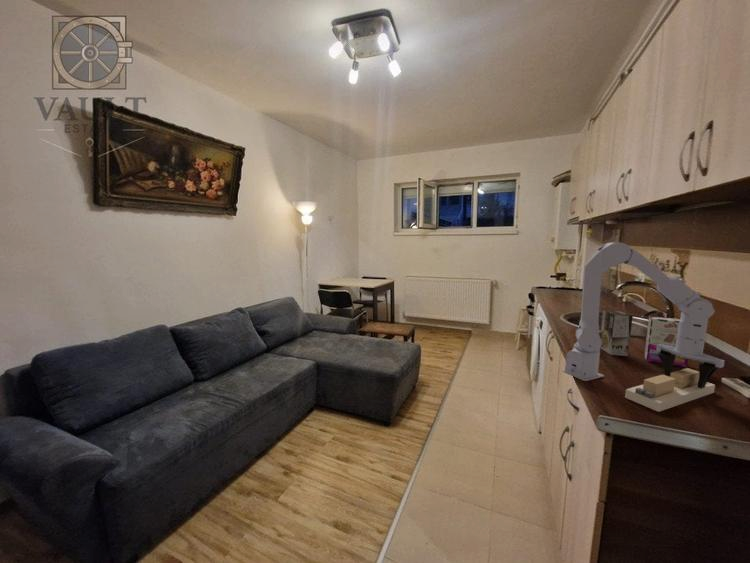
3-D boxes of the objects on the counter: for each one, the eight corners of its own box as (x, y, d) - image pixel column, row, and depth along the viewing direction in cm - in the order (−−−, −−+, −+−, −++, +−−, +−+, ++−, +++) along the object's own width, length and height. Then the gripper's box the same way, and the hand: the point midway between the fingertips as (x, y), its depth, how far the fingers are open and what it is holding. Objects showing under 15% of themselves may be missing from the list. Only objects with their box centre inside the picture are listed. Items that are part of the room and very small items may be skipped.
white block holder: (658, 411, 82) (661, 390, 81) (624, 397, 90) (627, 377, 89) (713, 392, 93) (717, 373, 92) (679, 381, 100) (682, 363, 99)
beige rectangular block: (680, 396, 91) (683, 376, 90) (666, 391, 94) (669, 372, 93) (697, 390, 94) (700, 371, 93) (683, 386, 97) (686, 367, 96)
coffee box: (628, 356, 121) (633, 315, 119) (609, 355, 122) (614, 314, 120) (615, 348, 130) (620, 310, 128) (598, 347, 131) (602, 309, 129)
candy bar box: (682, 363, 115) (689, 319, 112) (687, 368, 111) (694, 322, 108) (643, 357, 121) (648, 315, 118) (645, 361, 116) (651, 318, 114)
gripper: (733, 343, 86) (724, 390, 88) (667, 329, 100) (662, 369, 101) (720, 346, 84) (711, 394, 85) (654, 331, 97) (649, 373, 99)
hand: (683, 381), depth 93 cm, fingers open, 7 cm apart
